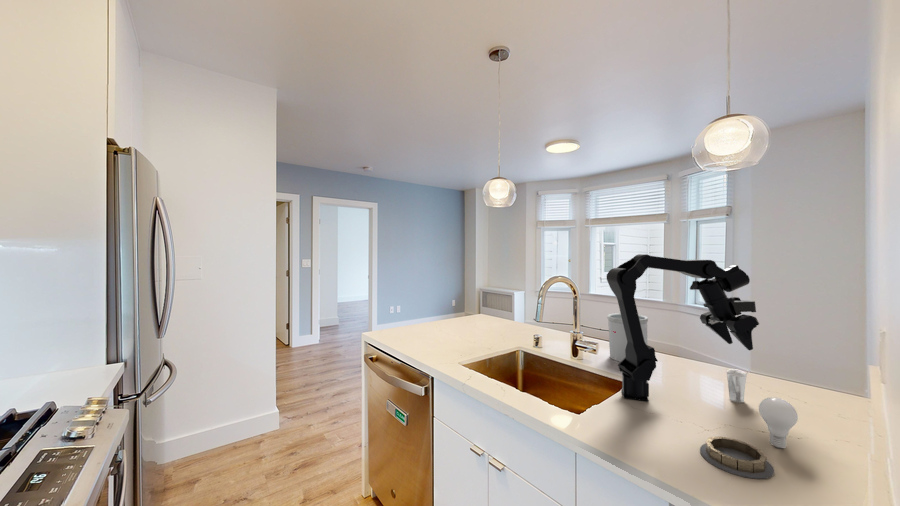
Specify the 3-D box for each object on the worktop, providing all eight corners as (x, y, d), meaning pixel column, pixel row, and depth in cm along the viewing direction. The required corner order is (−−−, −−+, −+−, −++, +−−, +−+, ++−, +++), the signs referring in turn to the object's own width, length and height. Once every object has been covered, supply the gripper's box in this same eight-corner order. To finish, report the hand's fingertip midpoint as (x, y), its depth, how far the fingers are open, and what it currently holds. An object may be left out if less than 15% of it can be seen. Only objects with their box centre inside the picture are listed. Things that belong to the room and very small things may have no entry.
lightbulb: (789, 443, 79) (789, 395, 79) (804, 458, 73) (803, 406, 73) (754, 437, 81) (754, 391, 81) (765, 451, 76) (765, 401, 76)
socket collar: (716, 467, 70) (716, 457, 70) (700, 442, 79) (700, 433, 79) (776, 477, 66) (776, 467, 66) (752, 450, 75) (752, 441, 75)
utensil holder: (614, 363, 135) (613, 319, 135) (603, 352, 150) (603, 312, 150) (654, 365, 133) (654, 320, 133) (639, 353, 148) (639, 313, 147)
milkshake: (745, 406, 97) (745, 371, 97) (723, 399, 102) (723, 365, 102) (753, 403, 100) (753, 368, 99) (731, 396, 104) (731, 363, 104)
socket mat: (711, 471, 69) (711, 469, 69) (692, 440, 80) (692, 438, 80) (787, 484, 65) (787, 482, 65) (756, 450, 76) (756, 448, 76)
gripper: (764, 289, 95) (793, 342, 92) (723, 286, 113) (747, 331, 111) (723, 304, 96) (751, 357, 94) (689, 299, 114) (712, 344, 112)
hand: (740, 346), depth 103 cm, fingers open, 9 cm apart
